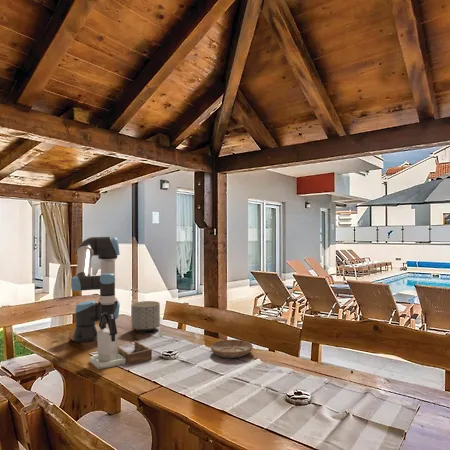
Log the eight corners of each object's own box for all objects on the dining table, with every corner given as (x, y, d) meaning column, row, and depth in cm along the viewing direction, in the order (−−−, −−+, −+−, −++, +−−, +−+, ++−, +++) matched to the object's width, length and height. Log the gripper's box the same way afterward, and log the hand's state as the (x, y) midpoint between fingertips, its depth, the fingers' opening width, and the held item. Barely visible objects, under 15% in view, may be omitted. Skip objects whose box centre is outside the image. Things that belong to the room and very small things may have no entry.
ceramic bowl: (258, 350, 215) (258, 341, 215) (243, 364, 194) (243, 354, 194) (221, 345, 225) (221, 337, 225) (203, 358, 204) (203, 348, 204)
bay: (114, 354, 211) (114, 345, 211) (136, 349, 218) (136, 340, 218) (128, 364, 195) (128, 354, 195) (151, 358, 202) (151, 349, 202)
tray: (89, 361, 199) (89, 356, 199) (115, 356, 207) (115, 351, 207) (98, 369, 187) (98, 364, 187) (126, 363, 196) (125, 358, 196)
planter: (157, 334, 250) (156, 306, 250) (128, 334, 251) (128, 306, 251) (162, 326, 269) (161, 300, 269) (135, 326, 270) (135, 301, 270)
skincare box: (118, 358, 199) (118, 329, 199) (110, 363, 193) (110, 332, 193) (104, 357, 202) (104, 327, 202) (96, 361, 196) (96, 331, 196)
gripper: (92, 300, 205) (92, 340, 205) (109, 308, 185) (109, 351, 185) (106, 299, 210) (106, 337, 210) (123, 306, 190) (124, 348, 190)
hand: (107, 344), depth 197 cm, fingers open, 13 cm apart
